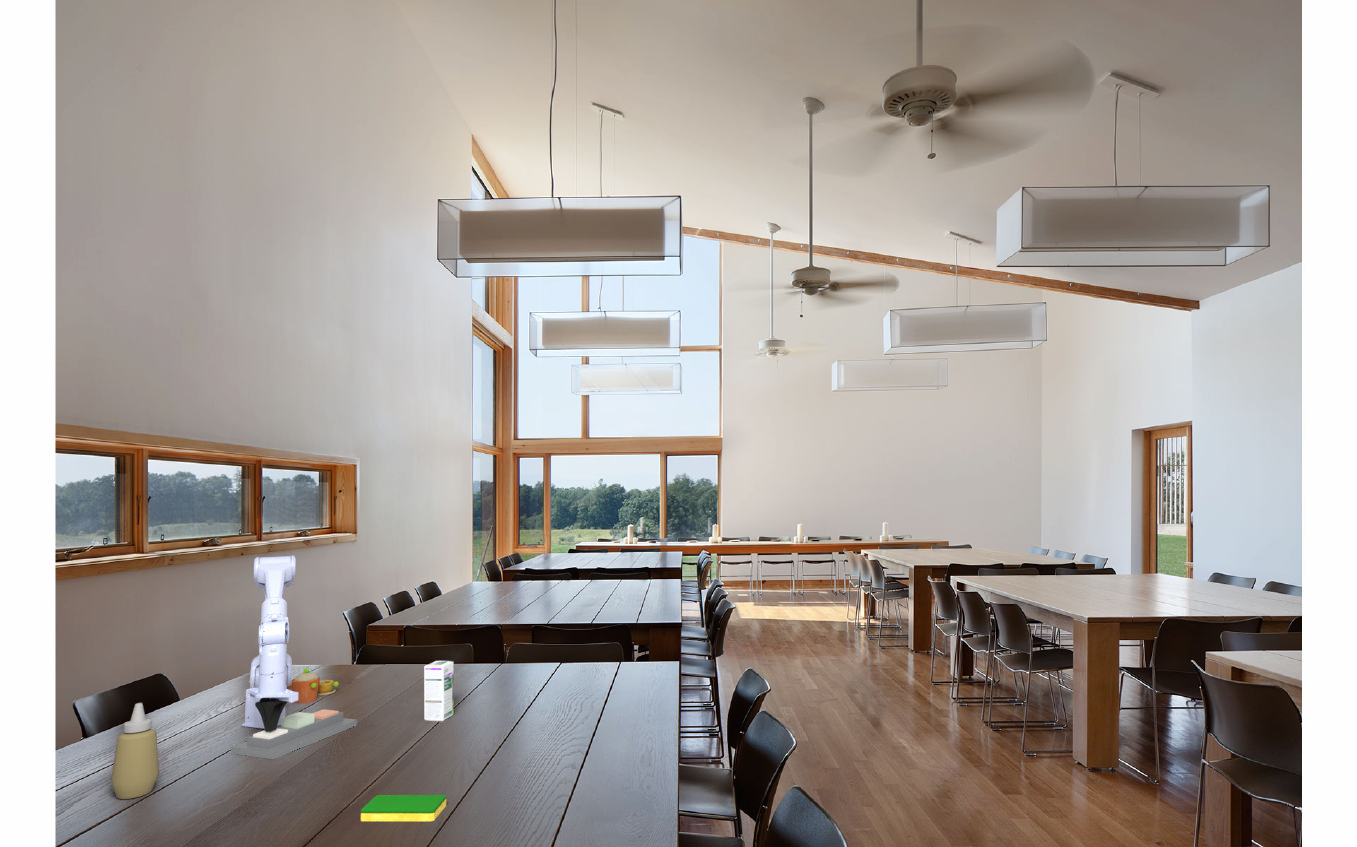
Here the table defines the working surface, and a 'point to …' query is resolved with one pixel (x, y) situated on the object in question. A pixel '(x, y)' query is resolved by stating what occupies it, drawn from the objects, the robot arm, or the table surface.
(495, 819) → the table surface
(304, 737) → the stepped grey tray
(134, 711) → the squeeze bottle
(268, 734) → the cream key
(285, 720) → the sage key
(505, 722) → the table surface
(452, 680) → the syrup box
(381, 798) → the dish sponge
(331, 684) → the toy tea set
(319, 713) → the terracotta key
